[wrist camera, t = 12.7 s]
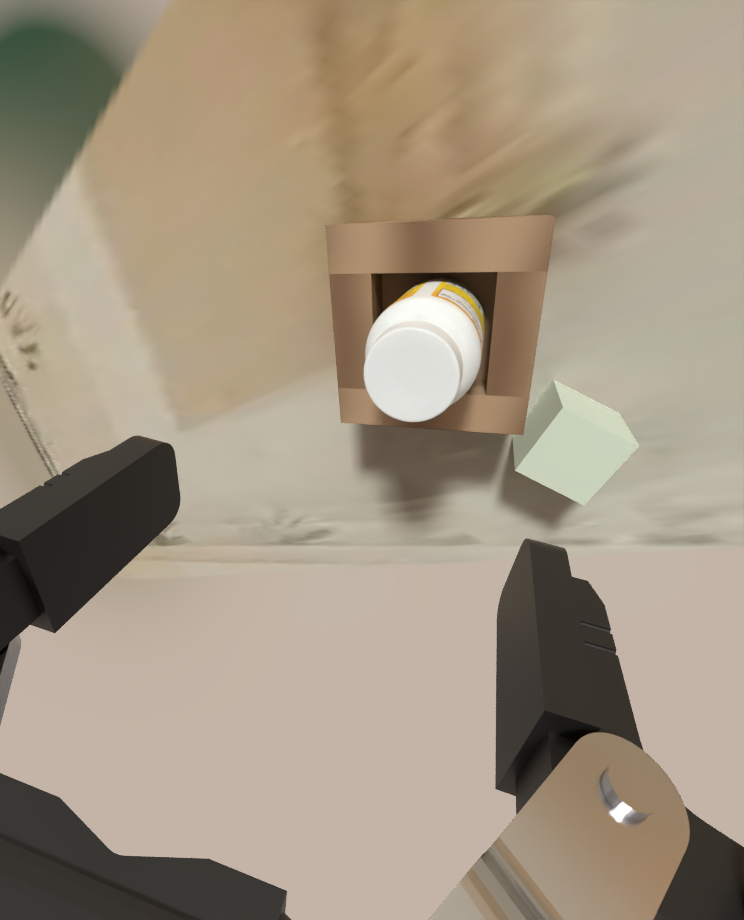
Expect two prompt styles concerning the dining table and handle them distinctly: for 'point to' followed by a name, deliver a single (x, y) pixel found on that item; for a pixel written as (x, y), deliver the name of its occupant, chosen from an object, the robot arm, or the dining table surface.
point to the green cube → (572, 443)
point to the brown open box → (455, 257)
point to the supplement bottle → (425, 350)
